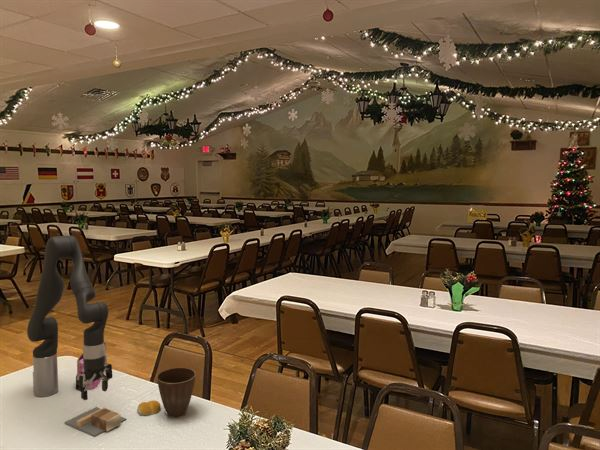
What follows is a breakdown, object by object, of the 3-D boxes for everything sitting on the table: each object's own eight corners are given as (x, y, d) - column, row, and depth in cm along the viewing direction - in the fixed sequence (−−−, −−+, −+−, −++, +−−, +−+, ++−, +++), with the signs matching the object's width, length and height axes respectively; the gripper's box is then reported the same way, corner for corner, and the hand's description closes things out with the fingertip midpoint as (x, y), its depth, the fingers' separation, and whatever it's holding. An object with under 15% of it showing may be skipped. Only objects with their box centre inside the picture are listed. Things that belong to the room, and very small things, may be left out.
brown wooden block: (91, 414, 172) (106, 421, 168) (105, 408, 178) (120, 414, 173) (91, 424, 173) (107, 431, 168) (105, 418, 178) (120, 424, 173)
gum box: (94, 390, 203) (94, 360, 202) (75, 391, 201) (74, 362, 200) (107, 369, 226) (106, 342, 225) (90, 370, 225) (89, 343, 223)
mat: (64, 423, 174) (64, 417, 174) (96, 408, 187) (96, 402, 186) (94, 436, 166) (94, 430, 165) (126, 419, 178) (126, 414, 178)
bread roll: (163, 412, 184) (163, 403, 184) (140, 418, 180) (140, 408, 179) (157, 404, 191) (157, 394, 191) (135, 409, 186) (135, 400, 186)
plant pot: (203, 409, 187) (203, 372, 185) (177, 426, 174) (177, 386, 172) (176, 401, 194) (175, 364, 192) (149, 416, 181) (148, 377, 179)
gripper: (103, 346, 182) (104, 385, 183) (70, 358, 169) (71, 400, 171) (116, 350, 178) (116, 390, 180) (83, 362, 166) (84, 405, 167)
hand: (94, 395), depth 175 cm, fingers open, 8 cm apart
